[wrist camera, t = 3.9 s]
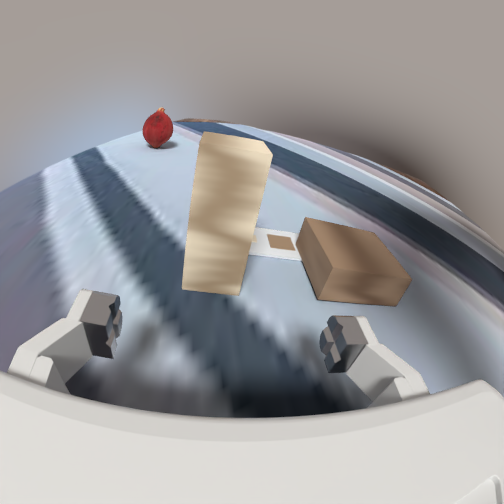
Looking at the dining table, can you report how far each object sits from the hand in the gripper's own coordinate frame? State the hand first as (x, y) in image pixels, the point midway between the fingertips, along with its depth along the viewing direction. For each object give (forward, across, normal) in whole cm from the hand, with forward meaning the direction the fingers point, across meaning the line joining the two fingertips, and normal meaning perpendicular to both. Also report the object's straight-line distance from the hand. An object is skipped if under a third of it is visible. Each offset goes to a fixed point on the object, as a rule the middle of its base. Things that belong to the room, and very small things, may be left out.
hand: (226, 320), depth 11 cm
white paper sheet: (+16, -5, +5) cm, 17 cm away
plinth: (+12, -12, +5) cm, 18 cm away
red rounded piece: (+47, +12, +6) cm, 49 cm away
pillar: (+10, 0, +6) cm, 11 cm away
